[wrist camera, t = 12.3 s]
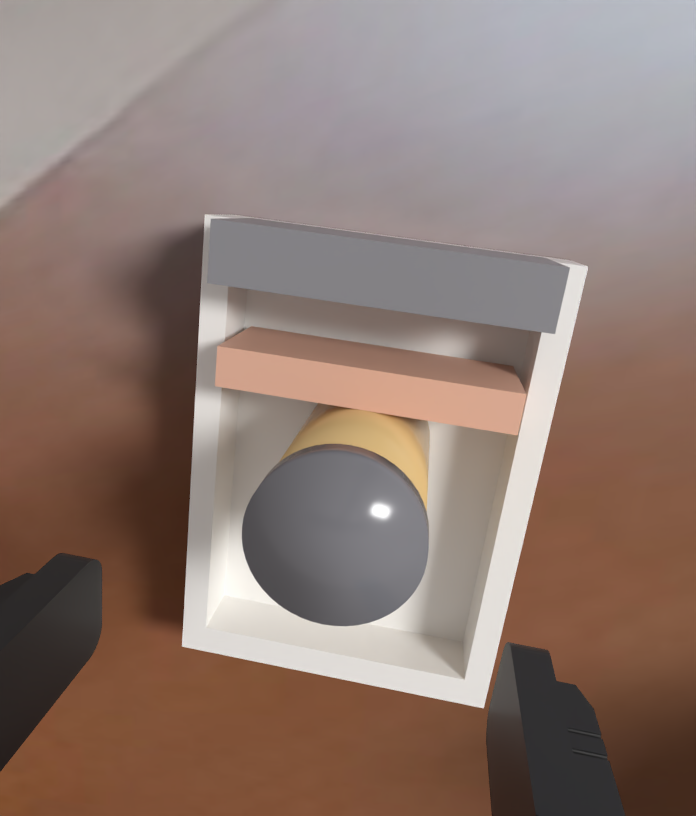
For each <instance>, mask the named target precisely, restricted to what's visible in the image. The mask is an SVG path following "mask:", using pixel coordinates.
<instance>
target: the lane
mask: <svg viewBox="0 0 696 816" xmlns="http://www.w3.org/2000/svg"><path fill="white" fill-rule="evenodd" d="M587 270H588V266H585V265H582V264H579V263H576V262H574V261H571V260H565V259H558V258H550V257H543V256H536V255H528V254H521V253H513V252H506V251H499V250H491V249H484V248H476V247H469V246H462V245H454V244H447V243H439V242H432V241H425V240H417V239H410V238H403V237H395V236H388V235H380V234H373V233H366V232H358V231H351V230H343V229H336V228H329V227H321V226H314V225H306V224H299V223H292V222H284V221H277V220H270V219H262V218H255V217H247V216H240V215H206V214H205V222H204V241H203V260H202V278H201V297H200V316H199V335H198V354H197V373H196V392H195V411H194V430H193V449H192V468H191V487H190V506H189V525H188V544H187V562H186V581H185V600H184V619H183V638H182V647H187V648H192V649H197V650H202V651H207V652H212V653H217V654H221V655H226V656H231V657H236V658H241V659H246V660H251V661H256V662H260V663H265V664H270V665H275V666H280V667H285V668H290V669H295V670H299V671H304V672H309V673H314V674H319V675H324V676H329V677H334V678H338V679H343V680H348V681H353V682H358V683H363V684H368V685H373V686H377V687H382V688H387V689H392V690H397V691H402V692H407V693H412V694H416V695H421V696H426V697H431V698H436V699H441V700H446V701H451V702H455V703H460V704H465V705H470V706H475V707H480V708H484V705H485V700H486V696H487V692H488V688H489V684H490V679H491V675H492V671H493V667H494V662H495V658H496V654H497V650H498V646H499V641H500V637H501V633H502V629H503V624H504V620H505V616H506V612H507V608H508V603H509V599H510V595H511V591H512V586H513V582H514V578H515V574H516V570H517V565H518V561H519V557H520V553H521V548H522V544H523V540H524V536H525V532H526V527H527V523H528V519H529V515H530V510H531V506H532V502H533V498H534V494H535V489H536V485H537V481H538V477H539V473H540V468H541V464H542V460H543V456H544V451H545V447H546V443H547V439H548V435H549V430H550V426H551V422H552V418H553V413H554V409H555V405H556V401H557V397H558V392H559V388H560V384H561V380H562V375H563V371H564V367H565V363H566V359H567V354H568V350H569V346H570V342H571V337H572V333H573V329H574V325H575V321H576V316H577V312H578V308H579V304H580V299H581V295H582V291H583V287H584V283H585V278H586V274H587ZM251 326H254V327H261V328H267V329H274V330H280V331H287V332H293V333H300V334H306V335H313V336H320V337H326V338H333V339H339V340H346V341H352V342H359V343H365V344H372V345H379V346H385V347H392V348H398V349H405V350H411V351H418V352H425V353H431V354H438V355H444V356H451V357H457V358H464V359H470V360H477V361H484V362H490V363H497V364H503V365H510V366H513V367H514V369H515V371H516V373H517V375H518V377H519V379H520V382H521V384H522V386H523V388H524V390H525V392H526V394H527V395H526V400H525V404H524V409H523V413H522V418H521V422H520V427H519V431H518V435H512V434H506V433H500V432H493V431H487V430H481V429H475V428H469V427H463V426H457V425H450V424H444V423H438V422H432V421H428V424H429V429H430V454H429V474H428V495H427V516H428V522H429V550H428V560H427V565H426V569H425V573H424V575H423V577H422V580H421V582H420V584H419V586H418V587H417V589H416V590H415V592H414V593H413V594H412V596H411V597H410V598H409V599H408V600H407V601H406V602H405V603H404V604H403V605H402V606H401V607H400V608H398V609H397V610H395V611H394V612H392V613H391V614H389V615H387V616H385V617H383V618H381V619H379V620H376V621H373V622H370V623H366V624H361V625H355V626H331V625H324V624H319V623H315V622H311V621H309V620H306V619H303V618H301V617H299V616H297V615H295V614H293V613H291V612H289V611H287V610H286V609H284V608H283V607H281V606H280V605H279V604H277V603H276V602H275V601H274V600H273V599H271V598H270V597H269V596H268V595H267V594H266V592H265V591H264V590H263V589H262V588H261V587H260V585H259V584H258V583H257V581H256V580H255V578H254V576H253V575H252V573H251V571H250V569H249V566H248V564H247V562H246V559H245V555H244V551H243V545H242V524H243V518H244V514H245V511H246V508H247V505H248V503H249V501H250V499H251V497H252V496H253V494H254V493H255V491H256V490H257V488H258V487H259V485H260V484H261V482H262V481H263V479H264V478H265V477H266V475H267V474H268V473H269V471H270V470H271V469H272V468H273V467H274V466H275V465H276V464H278V463H279V461H280V460H281V458H282V457H283V455H284V454H285V452H286V451H287V449H288V448H289V446H290V445H291V443H292V442H293V440H294V439H295V437H296V435H297V434H298V432H299V431H300V429H301V428H302V426H303V425H304V423H305V422H306V420H307V419H308V417H309V416H310V414H311V413H312V411H313V410H314V408H315V407H316V405H317V404H318V403H315V402H309V401H303V400H297V399H291V398H285V397H279V396H272V395H266V394H260V393H254V392H248V391H242V390H236V389H229V388H223V387H217V386H215V375H216V359H217V346H218V345H220V344H222V343H223V342H225V341H227V340H228V339H230V338H232V337H234V336H235V335H237V334H239V333H241V332H242V331H244V330H246V329H247V328H249V327H251Z"/></svg>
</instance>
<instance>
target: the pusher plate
mask: <svg viewBox="0 0 696 816" xmlns="http://www.w3.org/2000/svg"><path fill="white" fill-rule="evenodd" d="M215 386H217V387H223V388H229V389H236V390H242V391H248V392H254V393H260V394H266V395H272V396H279V397H285V398H291V399H297V400H303V401H309V402H315V403H322V404H328V405H334V406H340V407H346V408H352V409H358V410H364V411H371V412H377V413H383V414H389V415H395V416H401V417H407V418H414V419H420V420H426V421H432V422H438V423H444V424H450V425H457V426H463V427H469V428H475V429H481V430H487V431H493V432H500V433H506V434H512V435H518V431H519V427H520V422H521V418H522V413H523V409H524V404H525V400H526V395H527V394H526V392H525V390H524V388H523V386H522V384H521V382H520V379H519V377H518V375H517V373H516V371H515V369H514V367H513V366H510V365H503V364H497V363H490V362H484V361H477V360H470V359H464V358H457V357H451V356H444V355H438V354H431V353H425V352H418V351H411V350H405V349H398V348H392V347H385V346H379V345H372V344H365V343H359V342H352V341H346V340H339V339H333V338H326V337H320V336H313V335H306V334H300V333H293V332H287V331H280V330H274V329H267V328H261V327H254V326H251V327H249V328H247V329H246V330H244V331H242V332H241V333H239V334H237V335H235V336H234V337H232V338H230V339H228V340H227V341H225V342H223V343H222V344H220V345H218V346H217V359H216V375H215Z"/></svg>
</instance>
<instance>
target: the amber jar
mask: <svg viewBox="0 0 696 816" xmlns="http://www.w3.org/2000/svg"><path fill="white" fill-rule="evenodd" d="M429 454H430V429H429V424H428V421H426V420H420V419H414V418H407V417H401V416H395V415H389V414H383V413H377V412H371V411H364V410H358V409H352V408H346V407H340V406H334V405H328V404H322V403H318V404H317V405H316V407H315V408H314V410H313V411H312V413H311V414H310V416H309V417H308V419H307V420H306V422H305V423H304V425H303V426H302V428H301V429H300V431H299V432H298V434H297V435H296V437H295V439H294V440H293V442H292V443H291V445H290V446H289V448H288V449H287V451H286V452H285V454H284V455H283V457H282V458H281V460H280V461H279V463H278V464H276V465H275V466H274V467H273V468H272V469H271V470H270V471H269V473H268V474H267V475H266V477H265V478H264V479H263V481H262V482H261V484H260V485H259V487H258V488H257V490H256V491H255V493H254V494H253V496H252V497H251V499H250V501H249V503H248V505H247V508H246V511H245V514H244V518H243V524H242V545H243V551H244V555H245V559H246V562H247V564H248V566H249V569H250V571H251V573H252V575H253V576H254V578H255V580H256V581H257V583H258V584H259V585H260V587H261V588H262V589H263V590H264V591H265V592H266V594H267V595H268V596H269V597H270V598H271V599H273V600H274V601H275V602H276V603H277V604H279V605H280V606H281V607H283V608H284V609H286V610H287V611H289V612H291V613H293V614H295V615H297V616H299V617H301V618H303V619H306V620H309V621H311V622H315V623H319V624H324V625H331V626H355V625H361V624H366V623H370V622H373V621H376V620H379V619H381V618H383V617H385V616H387V615H389V614H391V613H392V612H394V611H395V610H397V609H398V608H400V607H401V606H402V605H403V604H404V603H405V602H406V601H407V600H408V599H409V598H410V597H411V596H412V594H413V593H414V592H415V590H416V589H417V587H418V586H419V584H420V582H421V580H422V577H423V575H424V573H425V569H426V565H427V560H428V550H429V522H428V516H427V495H428V474H429Z"/></svg>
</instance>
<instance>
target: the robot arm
mask: <svg viewBox="0 0 696 816" xmlns="http://www.w3.org/2000/svg"><path fill="white" fill-rule="evenodd" d="M101 628H102V567H101V564H100V562H99V561H98V560H95V559H90V558H85V557H80V556H75V555H70V554H65V553H59V554H57V555H56V556H55V557H53V558H52V559H51V560H50V561H49V562H48V563H47V564H46V565H44V566H43V567H42V568H41V569H40V570H39V571H38V572H37V573H36V574H30V573H26V574H24V575H21V576H19V577H17V578H15V579H13V580H11V581H9V582H7V583H4V584H2V585H0V771H1V770H2V769H3V768H4V766H5V765H6V764H7V763H8V761H9V760H10V759H11V758H12V756H13V755H14V754H15V752H16V751H17V750H18V749H19V747H20V746H21V745H22V744H23V742H24V741H25V740H26V738H27V737H28V736H29V735H30V733H31V732H32V731H33V730H34V728H35V727H36V726H37V725H38V723H39V722H40V721H41V719H42V718H43V717H44V716H45V714H46V713H47V712H48V711H49V709H50V708H51V707H52V706H53V704H54V703H55V702H56V700H57V699H58V698H59V697H60V695H61V694H62V693H63V692H64V690H65V689H66V688H67V687H68V685H69V684H70V683H71V681H72V680H73V679H74V678H75V676H76V675H77V674H78V673H79V671H80V670H81V669H82V667H83V666H84V665H85V664H86V662H87V661H88V660H89V659H90V657H91V656H92V654H93V652H94V650H95V648H96V646H97V644H98V641H99V637H100V634H101ZM486 745H487V758H488V771H489V784H490V797H491V810H492V816H625V813H624V809H623V806H622V803H621V799H620V796H619V793H618V789H617V786H616V783H615V779H614V776H613V772H612V769H611V766H610V762H609V761H607V752H606V749H605V746H604V742H603V739H601V732H600V729H599V725H598V722H597V719H596V715H595V712H594V709H593V708H592V706H591V705H590V704H589V702H588V701H587V700H586V698H585V697H584V696H583V694H582V693H581V692H580V690H579V689H578V688H577V686H576V685H573V684H568V683H563V682H558V681H556V678H555V674H554V669H553V665H552V661H551V657H550V653H549V651H548V650H545V649H540V648H535V647H529V646H524V645H519V644H514V643H509V642H507V643H506V645H505V647H504V650H503V654H502V658H501V662H500V666H499V670H498V674H497V678H496V682H495V686H494V690H493V694H492V699H491V703H490V707H489V712H488V719H487V731H486Z"/></svg>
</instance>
